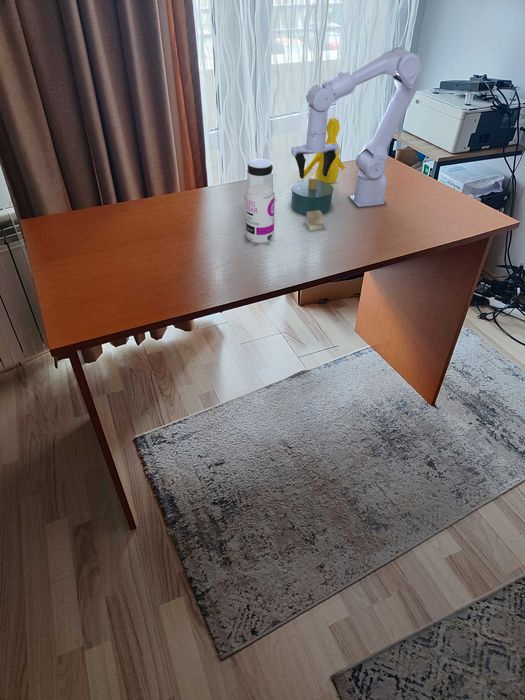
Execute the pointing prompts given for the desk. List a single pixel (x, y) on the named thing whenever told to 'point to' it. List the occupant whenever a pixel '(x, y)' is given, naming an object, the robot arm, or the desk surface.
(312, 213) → the block
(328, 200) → the tin
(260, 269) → the desk surface
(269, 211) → the supplement can
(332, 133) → the figure statuette
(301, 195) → the lid
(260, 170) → the jar
